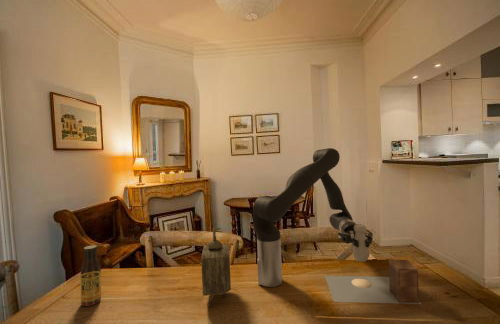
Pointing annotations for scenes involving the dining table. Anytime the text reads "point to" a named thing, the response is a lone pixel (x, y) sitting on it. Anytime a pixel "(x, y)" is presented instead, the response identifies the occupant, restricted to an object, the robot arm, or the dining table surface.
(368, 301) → the board
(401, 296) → the block
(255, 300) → the dining table surface
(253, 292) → the dining table surface
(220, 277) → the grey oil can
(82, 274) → the sauce bottle
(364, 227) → the salt shaker
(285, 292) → the dining table surface
